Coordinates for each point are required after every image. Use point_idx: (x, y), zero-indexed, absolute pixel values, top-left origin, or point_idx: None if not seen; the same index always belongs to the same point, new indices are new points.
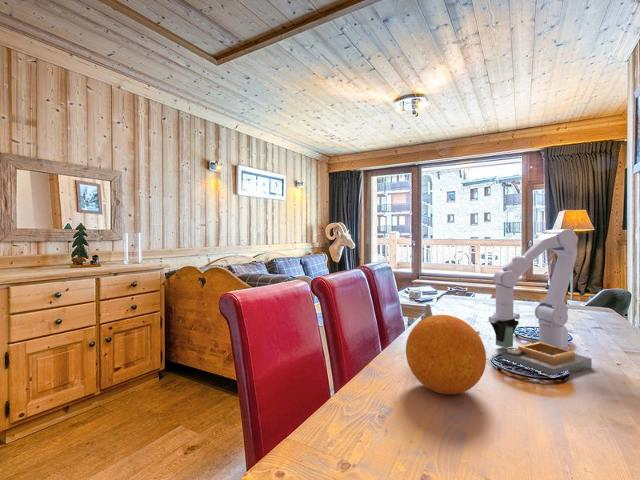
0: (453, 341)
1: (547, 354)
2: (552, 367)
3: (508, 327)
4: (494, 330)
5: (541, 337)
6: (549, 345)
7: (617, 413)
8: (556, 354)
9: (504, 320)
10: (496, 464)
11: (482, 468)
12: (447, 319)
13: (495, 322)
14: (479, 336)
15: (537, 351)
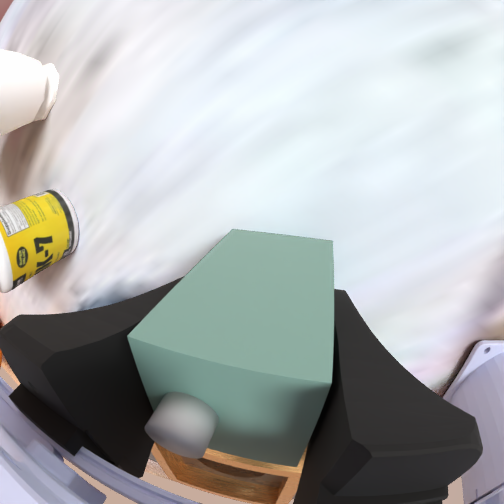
0: None
1: (170, 474)
2: (151, 457)
3: (232, 448)
4: (119, 307)
5: (480, 420)
6: (286, 489)
7: (148, 469)
8: (198, 487)
9: (165, 501)
10: (16, 381)
11: (10, 375)
12: None
13: (34, 399)
14: (1, 290)
15: (162, 463)
